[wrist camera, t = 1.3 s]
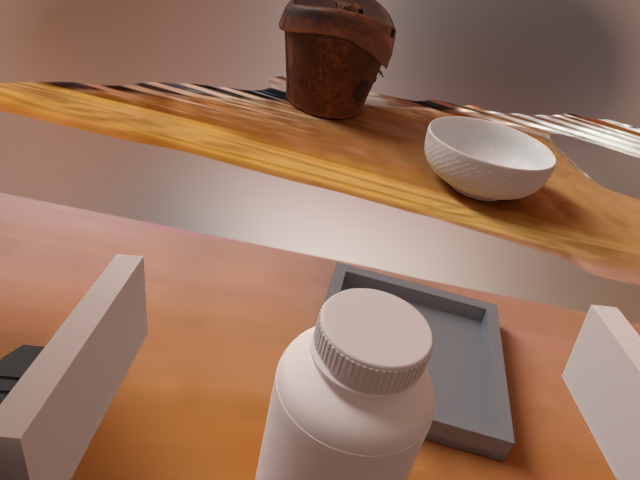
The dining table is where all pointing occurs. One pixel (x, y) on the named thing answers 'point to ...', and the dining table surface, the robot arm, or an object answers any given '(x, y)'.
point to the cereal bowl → (487, 158)
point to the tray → (454, 362)
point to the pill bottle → (351, 393)
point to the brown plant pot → (334, 53)
